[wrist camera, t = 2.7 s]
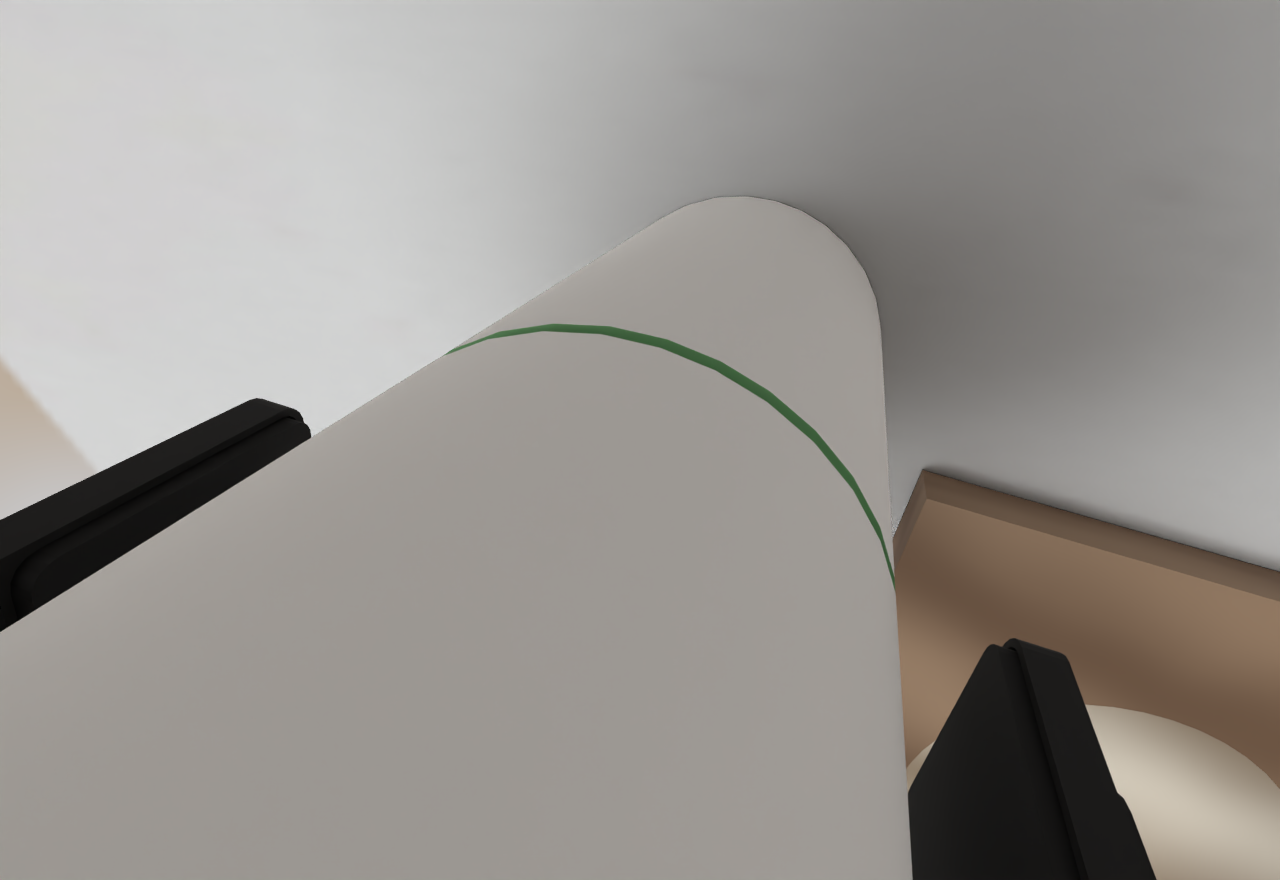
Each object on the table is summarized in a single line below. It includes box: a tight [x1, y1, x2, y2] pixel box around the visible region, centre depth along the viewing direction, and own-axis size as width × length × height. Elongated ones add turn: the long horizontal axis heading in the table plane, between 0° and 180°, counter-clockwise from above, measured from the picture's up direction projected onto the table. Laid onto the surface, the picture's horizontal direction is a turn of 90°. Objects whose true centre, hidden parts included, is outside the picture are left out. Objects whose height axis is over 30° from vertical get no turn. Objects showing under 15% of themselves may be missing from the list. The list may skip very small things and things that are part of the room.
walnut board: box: [893, 470, 1280, 880], centre depth 21 cm, size 18×13×2 cm
